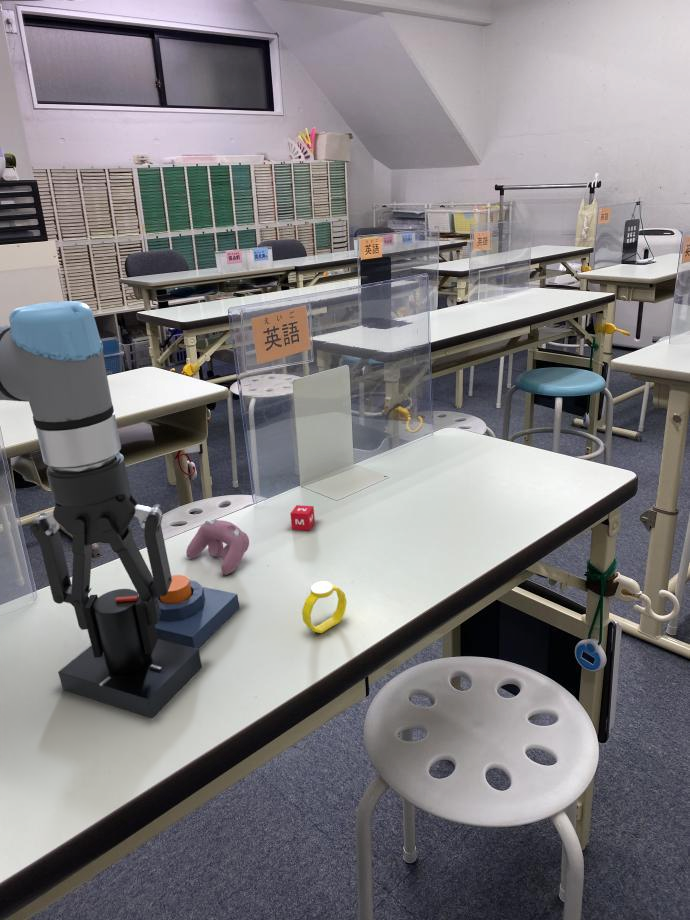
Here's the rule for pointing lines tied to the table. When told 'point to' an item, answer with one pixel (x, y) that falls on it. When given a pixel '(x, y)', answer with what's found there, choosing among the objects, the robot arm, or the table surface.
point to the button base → (195, 616)
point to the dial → (120, 631)
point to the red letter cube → (302, 517)
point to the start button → (177, 590)
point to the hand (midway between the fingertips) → (126, 647)
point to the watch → (322, 591)
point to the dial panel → (133, 678)
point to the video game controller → (220, 543)
